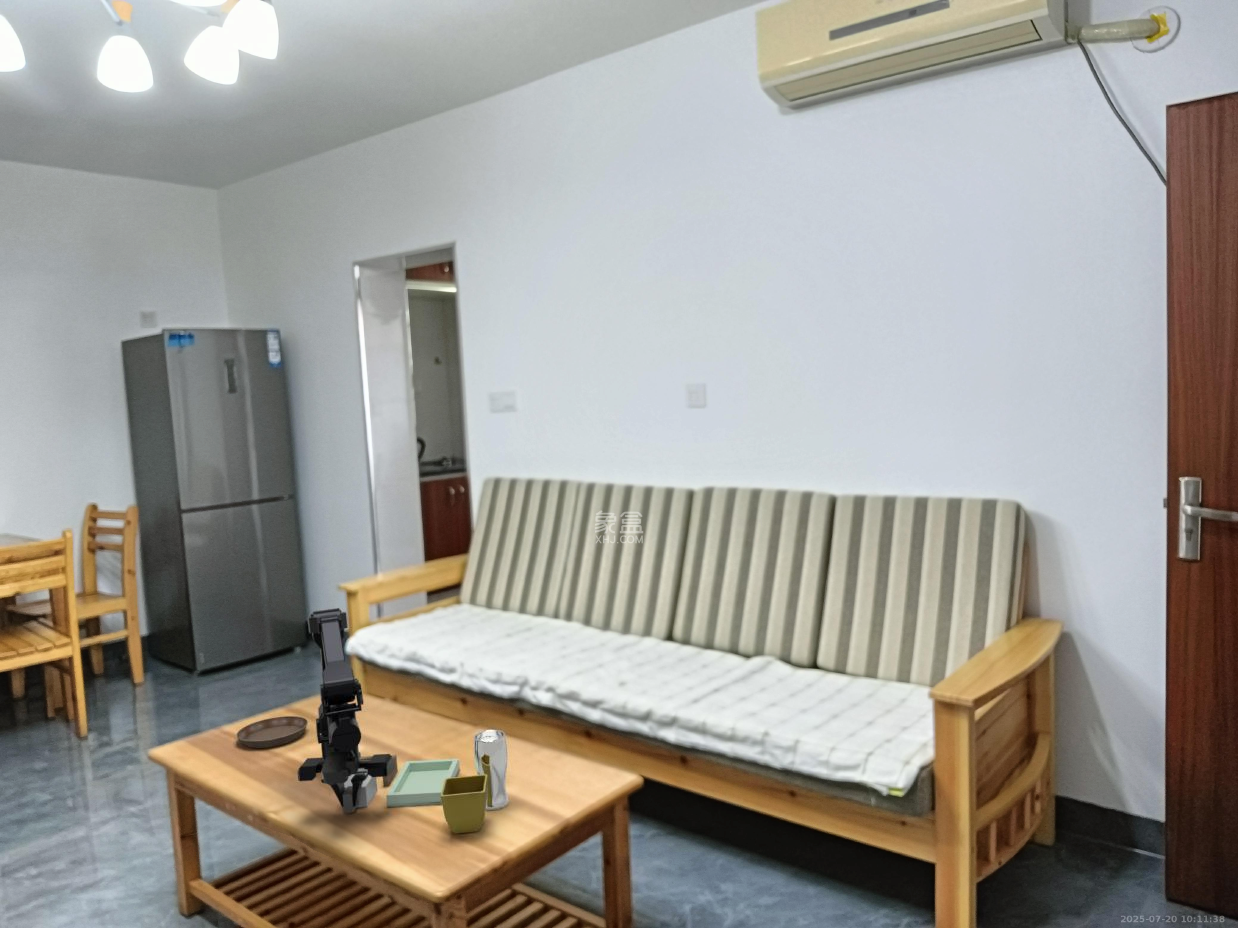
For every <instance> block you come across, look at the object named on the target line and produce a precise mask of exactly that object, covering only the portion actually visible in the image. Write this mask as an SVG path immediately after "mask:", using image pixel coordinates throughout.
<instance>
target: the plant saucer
mask: <svg viewBox="0 0 1238 928" xmlns="http://www.w3.org/2000/svg"><path fill="white" fill-rule="evenodd" d="M308 722H309V721H308V719H307V718H305V717H302V716H296V715H295V716H294V715H287V716H286V715H285V716H276V717H270V718H266V719H262V720H257V721H255V722H252V723H250V724H247V725H245V726H244V727H242V728H241V729H239V730H238V731H237V732H236V738H237V739H238V741H239V742H241V744H243V745H245V746H246V747H249V748H252V749H266V748H274V747H279V746H282V745H285V744H288V743H291V742H294V741H295V740H297V739H298V738H299V737H301V735H303V733H304V732H305V730H306V728H307V726H308V724H309V723H308Z"/></svg>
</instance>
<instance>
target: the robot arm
mask: <svg viewBox="0 0 1238 928" xmlns="http://www.w3.org/2000/svg"><path fill="white" fill-rule="evenodd" d="M347 617H348V616H347V612H346V611H342V610H341V608H340V607H337V608H330V609H329V608H328V609H322V610H315V611H314V610H313V611H312V613H311V614H310V616H308V617H307V625H308V632H309V634H312V639H313V642H314V643H315V645H316V646H317V647H318V648H319V649H320V650H319V651H320V661H321V664H320V665H321V679H322V684H319V694H320V702H321V703H320V705H319V707H318V708H317V712H318V718H315V725H316V726H315V729H316V739H317V743H318V745H320V746H321V755H322V756H321V757H308V758H306V759H305V760H304V762H303V763H302V764H301V765H300V766H299V768H298V769H297V780H298V781H299V782H311V781H313V780H314V779H315V778H316V777H317V774H321V778H322V779H321V780H320V781H321V783H322V784H326V785H328V786H330V788H331V789H332V791H333V792H334V794H335V797H336V798H337V800H338V801H339V804H340V806H341V808H342V807H344V806H343V795H342V794H343V793H344V792H345V786H344V783H345V782H346V781H347V780H348V777H349V776H351V775H353V774H354V776H353V777H352V779H351V783H352V801H353V807H355V806H356V804H357V801H358V797H359V794H360V790H361V787H362V783H363V781H365V780H366V779H367V777H368V776H369V775H370V776H371V777H376V778H383V777H384V776H387V775H388V774H389V772H390V770H391V769H392V767H393V757H392V756H391V755H392V754H391V753H380V754H379V753H377V754H373V755H372V756H373V757H372V758H371V760H364V761H360V757H362V756H361V755H362V754H361V752H360V750H359V744H360V743H361V739H362V732H361V729H360V726H359V723H358V720H357V713H356V712H361V711H363V710H362V709H363V708H362V706H363V705H364V696H363V691H362V685H361V682H359V679H358V678H355V676H354V670H353V668H352V667H351V666H350V665H348V664H347V663H346V657H345V650H344V645H343V640H344V638H345V630H346V629H348V627H349V626H348V618H347ZM354 701H356V702H354Z"/></svg>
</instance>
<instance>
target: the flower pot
mask: <svg viewBox="0 0 1238 928" xmlns="http://www.w3.org/2000/svg"><path fill="white" fill-rule="evenodd" d="M441 801H442V804H441V805H442V809H443V815H444V819H445V822H446V823H447V824H446V825H448V828H450V830H451V831H452V832H453V833H454V834H463V833H465V834H466V833H474V832H475V833H476V832H479V831H480V830H481V829H482V827H483V824H484V819H485V815H486V814H485V813H486V809H485V808H486V802H487V775H486V774H484V775H478V774H476V775H475V774H474V775H467V776H466V775H464V776H457V777H453V778H446V779H445V780H444V784H443V788H442V792H441Z"/></svg>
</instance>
